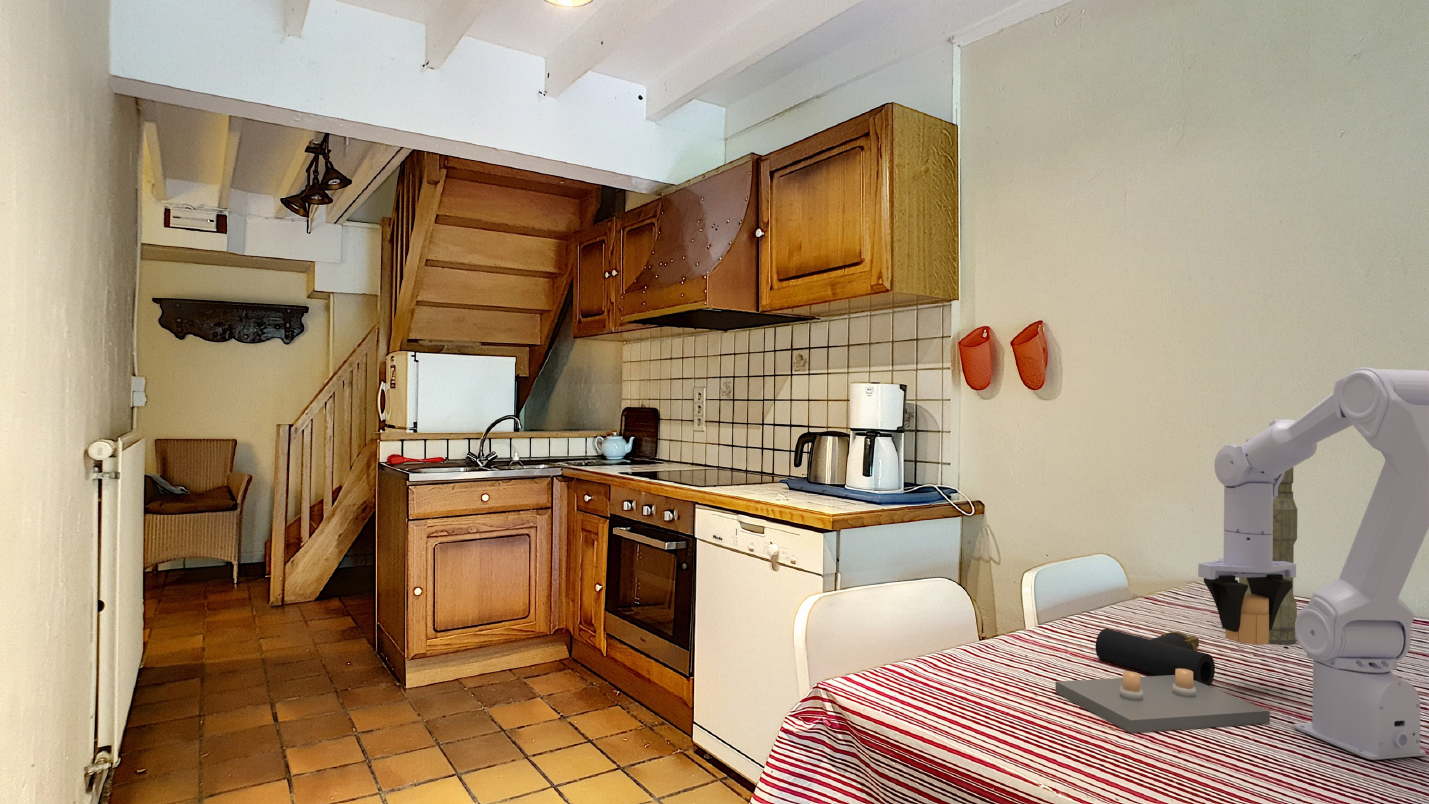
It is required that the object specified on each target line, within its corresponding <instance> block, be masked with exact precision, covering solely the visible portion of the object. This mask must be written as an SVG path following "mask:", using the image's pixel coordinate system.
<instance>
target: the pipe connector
mask: <svg viewBox="0 0 1429 804" xmlns="http://www.w3.org/2000/svg"><path fill="white" fill-rule="evenodd" d="M1199 647H1200V638H1198V637H1195V636H1190V635H1187V634H1185V633H1184V632H1181V631H1180V632H1179V631H1170V632H1167V633H1162V634H1160V635H1159V636H1157V637H1154V638H1146V637H1142V636H1139V635H1134V634H1131V633H1127V632H1122V631H1118V630H1114V629H1110V628H1102V630H1100V632H1099V633H1098V635H1097V637H1096V641H1095V654H1096V657H1097V658H1098V659H1099V660H1100V661H1104V662H1107V663H1111V664H1114V665H1118V666H1120V667H1124V668H1127V669H1131V670H1135V671H1139V672H1141V673H1146V674H1149V675H1151V676H1167V675H1175V671H1176V669H1179V668H1180V669H1187V670H1191V671H1193V680H1195V681H1197V682H1200V683H1202V684H1205V685H1207V686H1210V687H1211V686H1212V684H1213V681H1214V678H1215V673H1216V667H1215V666H1216V665H1215V659H1214V658H1213V656H1212V655H1211V654H1209V653H1206V652H1202V651H1198V648H1199Z"/></svg>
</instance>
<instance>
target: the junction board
mask: <svg viewBox="0 0 1429 804" xmlns="http://www.w3.org/2000/svg"><path fill="white" fill-rule="evenodd" d="M1055 694H1057V695H1059V696H1061V697H1063V698H1065V699H1067V700H1068V701H1070V702H1072V703H1074V704H1076V705H1078V706H1080V707H1081V708H1083V709H1086V710H1087V711H1088V712H1091V713H1092V714H1094V715H1096V716H1098V717H1100V718H1102V719H1104V720H1105V721H1107V722H1109V723H1111V724H1113V725H1114V726H1117V727H1118V728H1120V729H1122V730H1124V731H1126V732H1128V733H1130V734H1135V733H1151V732H1162V731H1165V732H1166V731H1178V730H1191V729H1193V730H1194V729H1203V728H1204V729H1206V728H1219V727H1235V726H1245V725H1247V726H1248V725H1249V726H1250V725H1259V724H1263V725H1264V724H1270V722H1271V720H1270V719H1271V718H1270V717H1271V716H1270V715H1271V711H1270V710H1269V709H1266V708H1263V707H1262V706H1258V705H1256V704H1254V703H1252V702H1249V701H1247V700H1244V699H1241V698H1239V697H1237V696H1234V695H1231V694H1230V693H1227V692H1225V691H1221V690H1219V689H1218V688H1217V689H1216V688H1215V687H1212V686H1211V685H1210V686H1207V685H1205V684H1202V683H1200V682H1197V681H1195V680H1193V671H1191V670H1187V669H1180V668H1179V669H1176V671H1175V675H1167V676H1155V675H1149V676H1141V674H1140V673H1138V672H1135V671H1129V670H1128V671H1127V670H1125V671H1123V672H1122V677H1116V678H1115V677H1114V678H1113V677H1112V678H1096V679H1093V678H1092V679H1080V680H1079V679H1078V680H1059V681H1055Z"/></svg>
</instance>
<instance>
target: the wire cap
mask: <svg viewBox="0 0 1429 804" xmlns="http://www.w3.org/2000/svg"><path fill="white" fill-rule="evenodd" d="M1224 630H1225V631H1224V632H1225V639H1227V640H1230V641H1232V642H1233V641H1234V642H1237V643H1241V644H1248V645H1255V646H1256V645H1259V646H1260V645H1262V646H1263V645H1269V598H1267V597H1264V596H1260V595H1255V594H1248V593H1245V596H1244V599H1243V603H1242V607H1241V620H1240V628H1239V631H1238V632H1233V631H1229V630H1226V629H1224Z"/></svg>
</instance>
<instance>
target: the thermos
mask: <svg viewBox="0 0 1429 804" xmlns="http://www.w3.org/2000/svg"><path fill="white" fill-rule="evenodd" d="M1246 442H1247V440H1246V441H1245V443H1246ZM1293 484H1294V467H1292V468H1291V469H1289V470H1287V471H1285V473H1284V477H1283V480H1282V481H1281V483H1280V484H1279V487H1278V496H1276V499H1275V500H1273V533H1272V534H1273V561H1284V562H1289V563H1294V562H1295V561H1294V558H1295V557H1294V556H1295V555H1294V553H1295V552H1294V550H1295V549H1294V547H1295V543H1296V541H1297V540H1298V507H1297V504H1296V503H1295V500H1294V491H1293ZM1242 573H1248V572H1242ZM1283 579H1286V580H1290V581H1292V588H1291V590H1290V591H1289V592H1288V593H1287V595H1286V596H1285V598H1284V599H1283V601H1282V603H1281V605H1280V607H1279V609H1278V612H1277V615H1276V618H1275V621H1274V624H1273V627H1272V630H1270V631H1269V644H1270V645H1271V644H1272V645H1280V646H1281V645H1285V646H1286V645H1287V646H1288V645H1294V644H1295V643H1296V640H1297V638H1296V633H1295V621H1296V617H1297V615H1298V608H1297V601H1296V598H1295V597H1294V577H1286V576H1284V577H1283ZM1238 583H1243V584H1247V585H1248V586H1249V584H1248V581H1247V578H1246V577H1241V578H1238ZM1246 593H1248V594H1251V590H1250V587H1248V589H1247V591H1246ZM1269 644H1268V645H1269Z"/></svg>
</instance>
